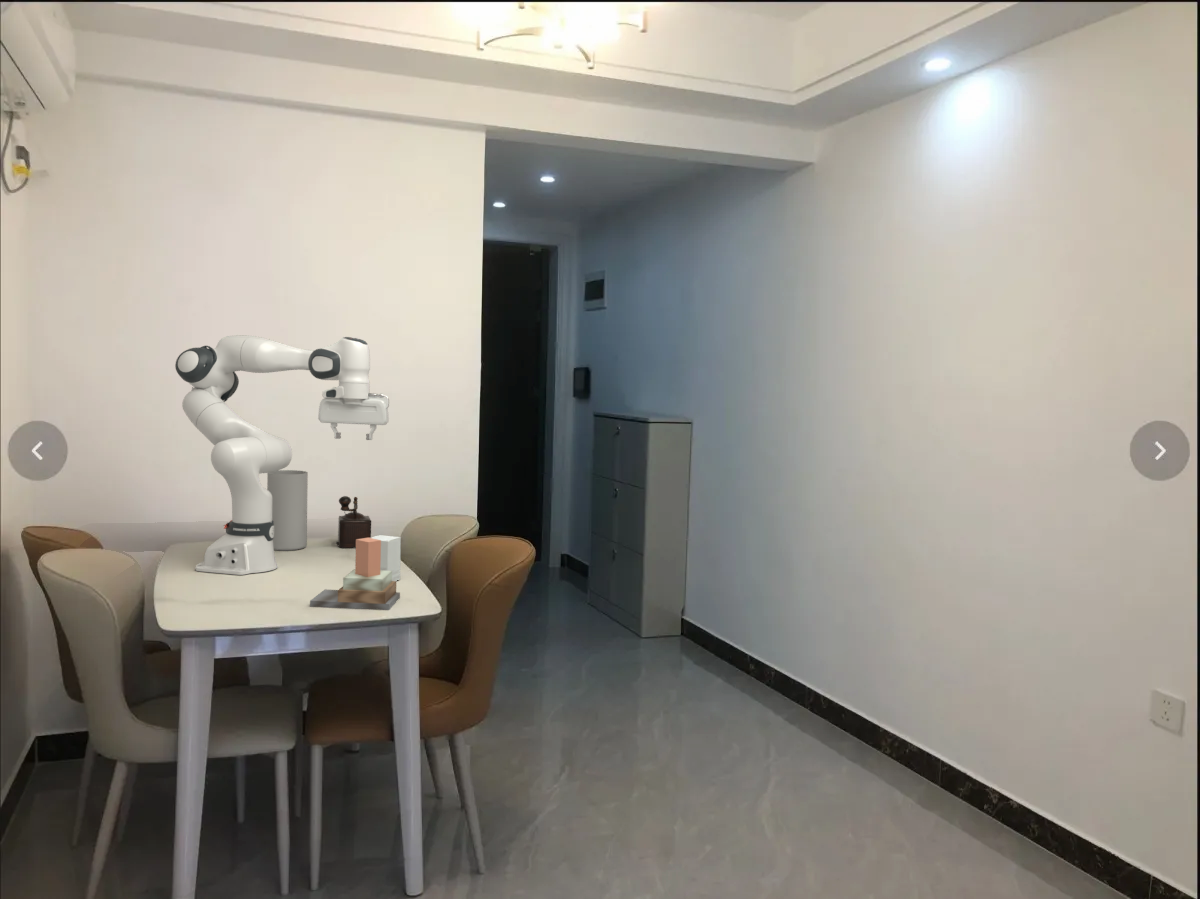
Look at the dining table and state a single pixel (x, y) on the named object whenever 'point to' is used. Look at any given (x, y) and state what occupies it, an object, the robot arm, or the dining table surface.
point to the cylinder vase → (289, 508)
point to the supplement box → (390, 554)
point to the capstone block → (368, 557)
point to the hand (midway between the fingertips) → (353, 439)
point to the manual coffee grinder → (352, 524)
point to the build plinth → (333, 598)
